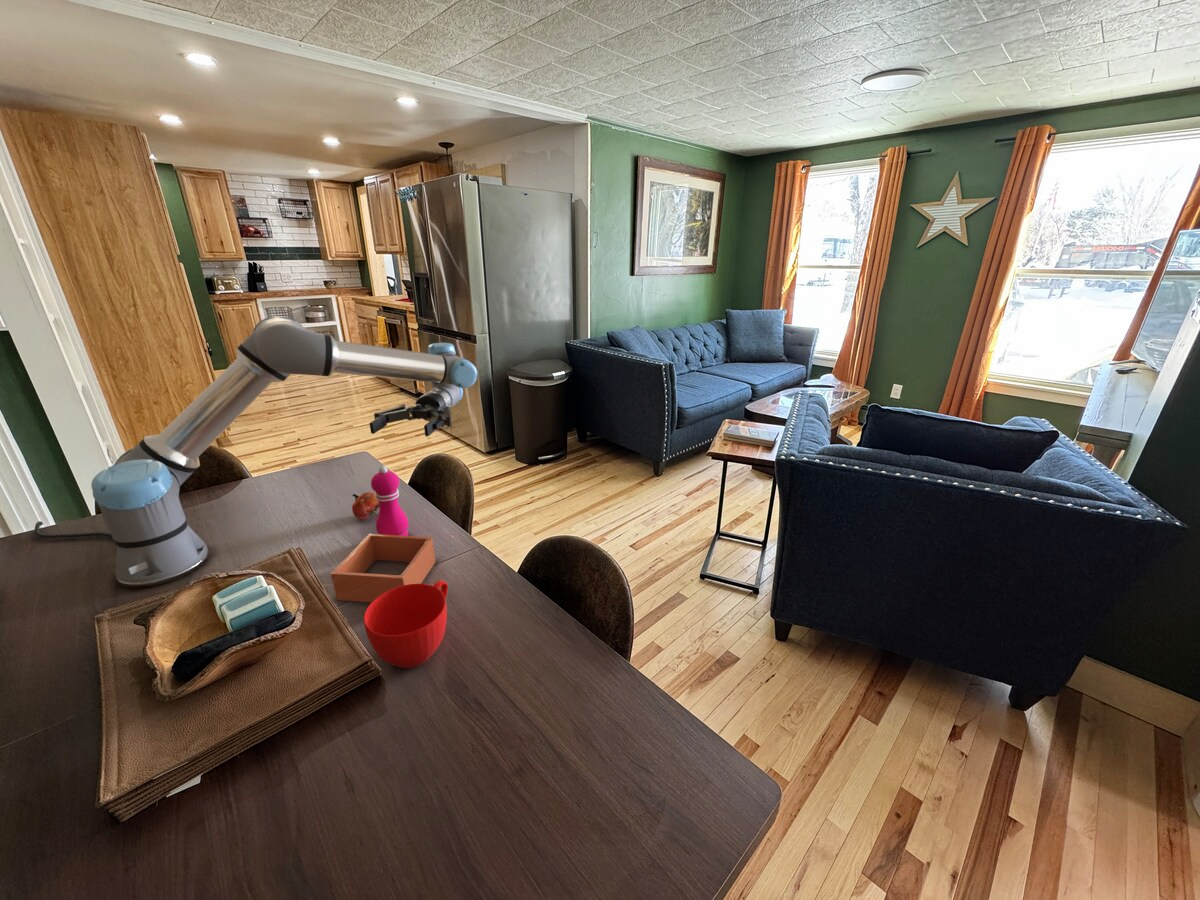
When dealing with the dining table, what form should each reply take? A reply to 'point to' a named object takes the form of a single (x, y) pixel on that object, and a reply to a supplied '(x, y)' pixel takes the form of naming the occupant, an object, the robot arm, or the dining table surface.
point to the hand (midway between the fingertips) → (398, 429)
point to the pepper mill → (389, 504)
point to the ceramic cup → (407, 623)
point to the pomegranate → (365, 505)
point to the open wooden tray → (368, 587)
